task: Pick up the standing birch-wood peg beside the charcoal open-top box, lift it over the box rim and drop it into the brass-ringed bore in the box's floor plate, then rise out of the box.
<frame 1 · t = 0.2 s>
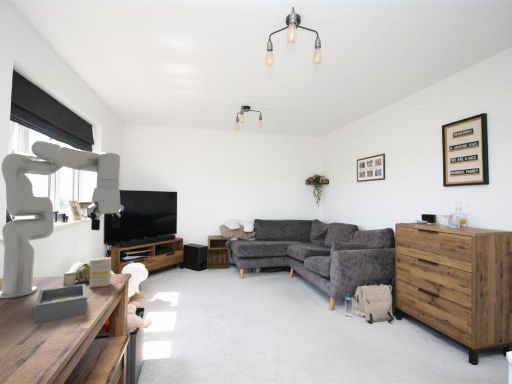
hand: (105, 228, 99), 31 cm above the table, fingers open, 9 cm apart
bore box: (62, 309, 96), on the table
peg: (68, 296, 108), on the table
supplement box: (100, 286, 122), on the table
ceramic sculpture: (84, 281, 128), on the table
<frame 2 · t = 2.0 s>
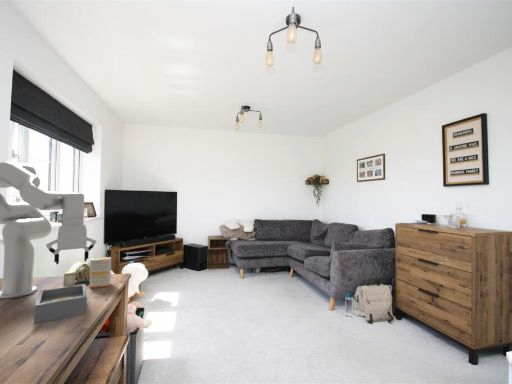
hand: (71, 262, 109), 15 cm above the table, fingers open, 9 cm apart
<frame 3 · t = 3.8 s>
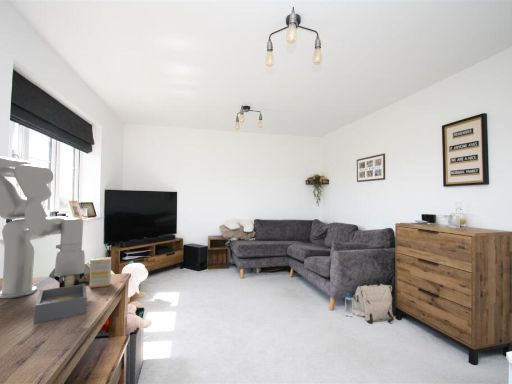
hand: (69, 289, 108), 3 cm above the table, fingers closed on peg, 4 cm apart
peg: (68, 296, 108), on the table, touching gripper
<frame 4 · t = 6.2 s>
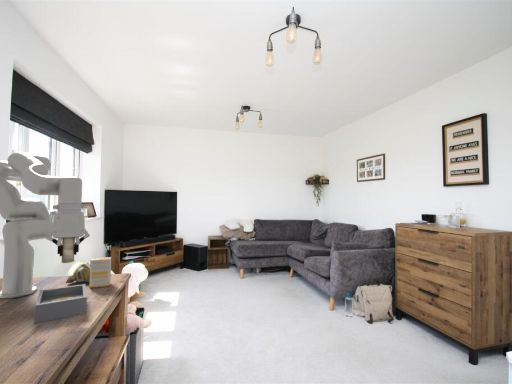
hand: (68, 254, 100), 20 cm above the table, fingers closed on peg, 4 cm apart
peg: (67, 261, 100), point 17 cm above the table, touching gripper
everything else where it was.
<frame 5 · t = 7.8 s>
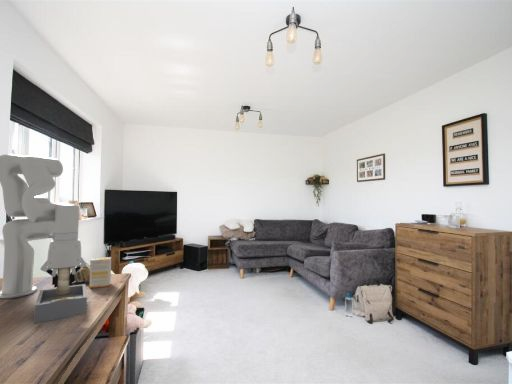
hand: (63, 284, 96), 9 cm above the table, fingers closed on peg, 4 cm apart
peg: (63, 292, 96), point 6 cm above the table, touching gripper
when the fingers open (5 cm above the table, at t = 9.1 s): peg drops 2 cm, resting in bore box.
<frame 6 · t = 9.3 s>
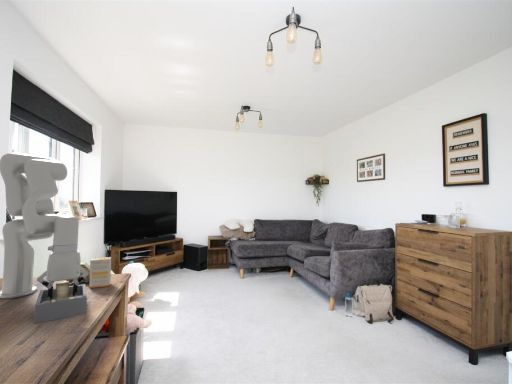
hand: (62, 295, 96), 5 cm above the table, fingers open, 6 cm apart
peg: (62, 309, 96), resting in bore box
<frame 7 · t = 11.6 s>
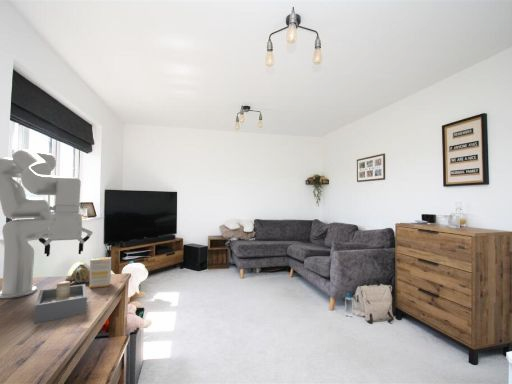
hand: (64, 254, 97), 21 cm above the table, fingers open, 9 cm apart
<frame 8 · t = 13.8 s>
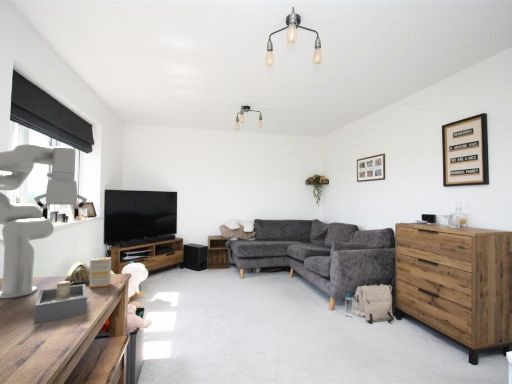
hand: (60, 218, 105), 33 cm above the table, fingers open, 9 cm apart
at the end: peg 0.1 cm off-centre on the bore box, point 0.0 cm above the bore box's base; peg tilted 0°; the gripper is holding nothing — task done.
